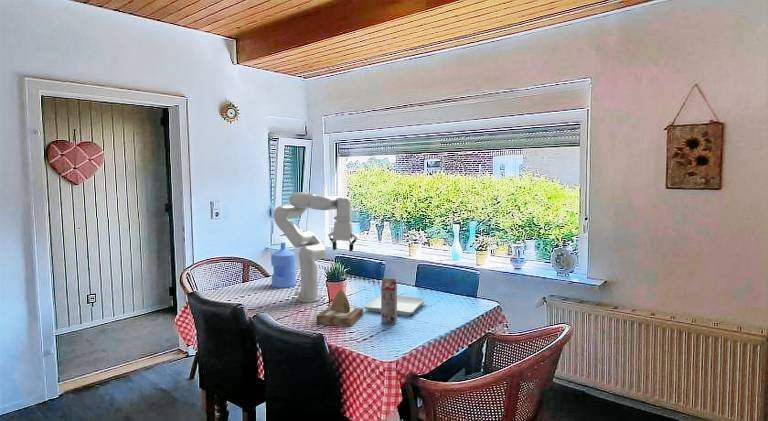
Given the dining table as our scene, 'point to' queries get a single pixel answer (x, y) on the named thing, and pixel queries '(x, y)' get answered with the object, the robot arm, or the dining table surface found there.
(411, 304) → the square plate
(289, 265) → the water jug
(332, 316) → the stand
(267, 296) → the dining table surface
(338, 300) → the rock
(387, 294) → the juice carton
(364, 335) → the dining table surface
